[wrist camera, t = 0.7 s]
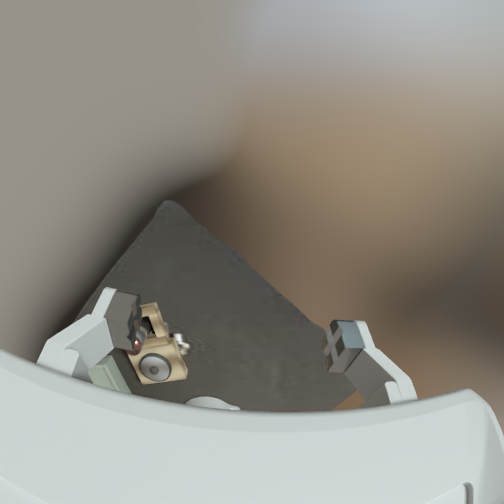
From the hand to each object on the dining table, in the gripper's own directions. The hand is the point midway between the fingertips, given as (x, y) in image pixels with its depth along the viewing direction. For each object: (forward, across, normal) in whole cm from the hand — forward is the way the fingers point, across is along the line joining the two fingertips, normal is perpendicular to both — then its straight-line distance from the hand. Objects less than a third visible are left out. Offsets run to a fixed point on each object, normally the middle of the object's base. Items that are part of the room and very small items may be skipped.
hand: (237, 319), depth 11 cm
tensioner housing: (+32, -13, -48) cm, 59 cm away
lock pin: (+34, -15, -44) cm, 58 cm away
